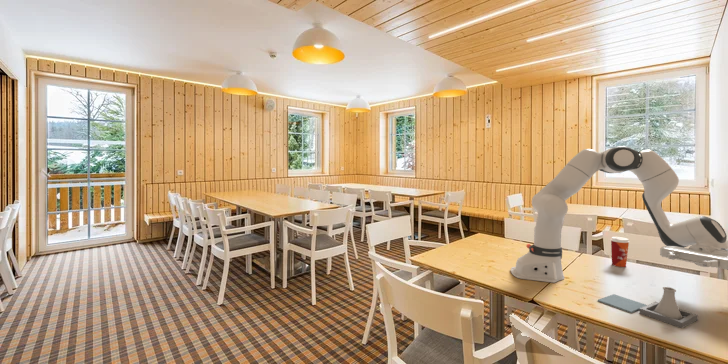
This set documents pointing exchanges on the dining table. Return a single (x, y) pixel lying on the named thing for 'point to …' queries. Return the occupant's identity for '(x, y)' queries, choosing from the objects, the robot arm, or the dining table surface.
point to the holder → (680, 323)
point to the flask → (668, 304)
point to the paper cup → (619, 251)
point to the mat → (622, 303)
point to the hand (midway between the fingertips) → (687, 260)
